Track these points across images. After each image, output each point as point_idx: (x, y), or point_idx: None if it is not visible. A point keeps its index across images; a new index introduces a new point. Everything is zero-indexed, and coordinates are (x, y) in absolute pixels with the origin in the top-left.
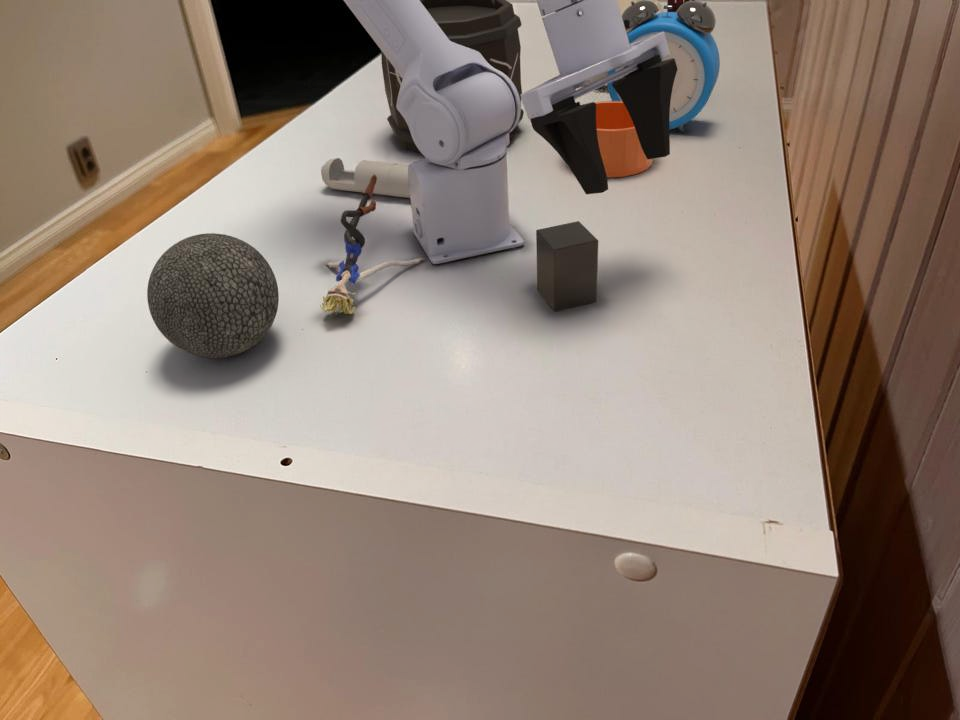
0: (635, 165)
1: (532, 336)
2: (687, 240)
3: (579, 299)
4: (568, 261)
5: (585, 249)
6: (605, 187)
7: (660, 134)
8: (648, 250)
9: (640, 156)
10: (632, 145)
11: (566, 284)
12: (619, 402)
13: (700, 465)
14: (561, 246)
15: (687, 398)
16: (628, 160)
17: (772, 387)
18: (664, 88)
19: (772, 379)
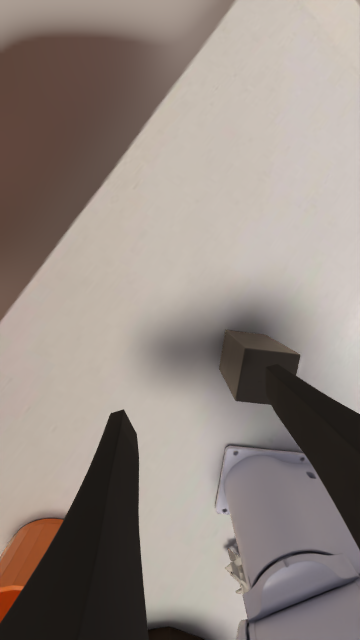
0: (43, 528)
1: (302, 311)
2: (84, 380)
3: (244, 333)
4: (274, 346)
5: (258, 347)
6: (275, 367)
7: (119, 448)
8: (129, 382)
9: (31, 539)
10: (34, 557)
11: (265, 339)
12: (298, 189)
13: (296, 81)
14: (289, 357)
15: (248, 162)
16: (48, 538)
17: (176, 134)
18: (68, 577)
19: (168, 144)
